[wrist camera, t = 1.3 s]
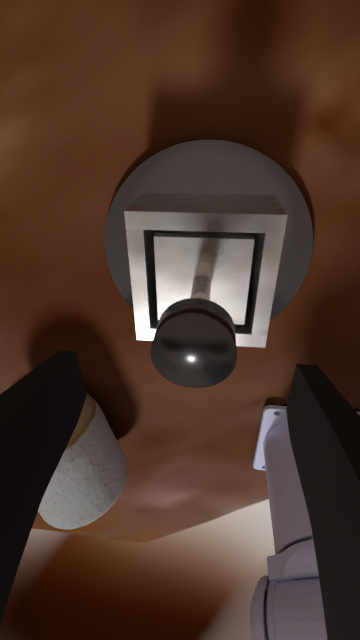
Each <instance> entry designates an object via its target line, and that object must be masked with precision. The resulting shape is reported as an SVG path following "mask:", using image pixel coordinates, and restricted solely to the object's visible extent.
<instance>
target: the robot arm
mask: <svg viewBox="0 0 360 640" xmlns="http://www.w3.org/2000/svg"><path fill="white" fill-rule="evenodd" d="M86 396H87V395H86V391H85V387H84V382H83V378H82V374H81V370H80V366H79V362H78V358H77V354H76V352H73V351H58V352H56V353H55V354H53V355H52V356H51V357H49V358H48V359H47V360H45V361H44V362H43V363H41V364H40V365H39V366H37V367H36V368H35V369H34V370H32V371H31V372H30V373H28V374H27V375H26V376H24V377H23V378H22V379H20V380H19V381H18V382H16V383H15V384H14V385H12V386H11V387H10V388H8V389H7V390H6V391H4V392H3V393H2V394H0V625H1V622H2V618H3V615H4V611H5V607H6V605H7V601H8V598H9V595H10V592H11V588H12V585H13V582H14V579H15V575H16V573H17V569H18V566H19V563H20V560H21V557H22V554H23V551H24V548H25V546H26V543H27V540H28V537H29V533H30V531H31V528H32V526H33V523H34V520H35V517H36V515H37V512H38V509H39V506H40V504H41V501H42V498H43V496H44V494H45V492H46V489H47V487H48V485H49V483H50V480H51V478H52V476H53V474H54V472H55V470H56V468H57V466H58V464H59V462H60V459H61V457H62V455H63V453H64V451H65V449H66V447H67V445H68V443H69V441H70V438H71V436H72V434H73V432H74V430H75V428H76V425H77V423H78V420H79V418H80V415H81V412H82V409H83V405H84V402H85V399H86ZM275 411H278V412H275ZM253 467H254V468H255V469H257V470H266V477H267V486H268V494H269V502H270V511H271V519H272V528H273V536H274V545H275V553H276V555H274V556H269V557H267V565H268V575H269V576H263V577H261V578H260V580H259V581H258V583H257V586H256V589H255V592H254V594H253V597H252V601H251V608H250V638H251V640H360V412H356V411H355V410H354V408H353V407H352V406H351V405H350V404H349V403H348V402H347V400H346V399H345V398H344V397H343V396H342V395H341V393H340V392H339V391H338V390H337V389H336V387H335V386H334V385H333V384H332V383H331V381H330V380H329V379H328V378H327V377H326V375H325V374H324V373H323V372H322V371H321V370H320V368H319V367H318V366H317V365H301V364H297V365H296V370H295V374H294V378H293V382H292V387H291V391H290V395H289V399H288V404H287V406H276V405H267V406H265V407H264V409H263V414H262V419H261V424H260V429H259V435H258V440H257V445H256V450H255V455H254V460H253Z"/></svg>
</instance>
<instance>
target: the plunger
mask: <svg viewBox="0 0 360 640" xmlns="http://www.w3.org/2000/svg"><path fill="white" fill-rule="evenodd" d="M254 240H255V239H254V235H228V234H193V233H158V232H156V233H155V235H154V253H155V272H156V292H157V311H158V320H159V322H158V325H157V329H156V332H155V335H154V339H153V342H152V345H151V359H152V362H153V364H154V366H155V368H156V369H157V371H158V372H159V373H160V374H161V375H162V376H163V377H165V378H166V379H167V380H169V381H171V382H173V383H175V384H177V385H180V386H184V387H190V388H204V387H209V386H213V385H215V384H218V383H219V382H221V381H223V380H224V379H226V378H227V377H228V376H229V375H230V374H231V372H232V371H233V369H234V367H235V364H236V360H237V351H236V333H235V325H234V324H242V325H244V323H245V314H246V306H247V298H248V290H249V281H250V273H251V265H252V257H253V248H254Z"/></svg>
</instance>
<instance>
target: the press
mask: <svg viewBox="0 0 360 640" xmlns="http://www.w3.org/2000/svg"><path fill="white" fill-rule="evenodd" d="M156 232H158V233H193V234H228V235H254V239H255V240H254V248H253V257H252V265H251V273H250V281H249V290H248V298H247V306H246V314H245V323H244V325H242V324H234V325H235V333H236V346H247V347H263V348H265V345H266V339H267V333H268V327H269V321H270V320H271V319H272V318H274V317H275V316H276V315H278V314H279V313H280V312H281V311H282V310H283V309H284V308H285V307H286V306H287V305H288V304H289V303H290V301H291V300H292V299H293V298H294V296H295V295H296V294H297V292H298V290H299V289H300V287H301V285H302V283H303V281H304V279H305V277H306V275H307V272H308V269H309V265H310V262H311V257H312V251H313V228H312V221H311V216H310V213H309V210H308V206H307V204H306V202H305V199H304V197H303V195H302V193H301V191H300V190H299V188H298V187H297V185H296V184H295V182H294V181H293V179H292V178H291V177H290V176H289V175H288V174H287V173H286V172H285V170H284V169H283V168H282V167H281V166H279V165H278V164H277V163H276V162H274V161H273V160H272V159H271V158H270V157H268V156H266V155H265V154H263V153H261V152H259V151H258V150H256V149H253V148H251V147H248V146H246V145H243V144H241V143H236V142H232V141H228V140H218V139H201V140H192V141H187V142H183V143H178V144H176V145H173V146H171V147H168V148H165V149H163V150H162V151H160V152H158V153H156V154H154V155H153V156H151V157H149V158H148V159H147V160H146V161H144V162H143V163H142V164H140V165H139V166H138V167H137V168H136V169H135V170H134V171H133V172H132V173H131V174H130V175H129V176H128V177H127V178H126V180H125V181H124V183H123V184H122V185H121V187H120V188H119V190H118V192H117V194H116V195H115V197H114V199H113V201H112V204H111V207H110V210H109V212H108V216H107V221H106V226H105V238H104V242H105V254H106V259H107V264H108V267H109V270H110V273H111V276H112V278H113V280H114V282H115V285H116V287H117V288H118V290H119V291H120V293H121V295H122V296H123V298H124V299H125V300H126V301H127V302H128V304H129V305H130V306H131V307H132V308H133V309H134V317H135V328H136V338H137V340H148V341H153V339H154V335H155V332H156V329H157V325H158V322H159V320H158V311H157V292H156V272H155V253H154V235H155V233H156Z"/></svg>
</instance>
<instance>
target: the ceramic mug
mask: <svg viewBox="0 0 360 640" xmlns="http://www.w3.org/2000/svg"><path fill="white" fill-rule="evenodd" d="M86 395H87V396H86V399H85V402H84V405H83V409H82V412H81V415H80V418H79V420H78V423H77V425H76V428H75V430H74V432H73V434H72V436H71V438H70V441H69V443H68V445H67V447H66V449H65V451H64V453H63V455H62V457H61V459H60V462H59V464H58V466H57V468H56V470H55V472H54V474H53V476H52V478H51V480H50V483H49V485H48V487H47V489H46V492H45V494H44V496H43V498H42V501H41V504H40V506H39V509H38V511H39V513H40V515H41V516H42V517H43V519H44V520H45V521H46V522H47V523H48V524H50V525H51V526H53V527H55V528H59V529H74V528H79V527H82V526H85V525H87V524H89V523H91V522H93V521H95V520H96V519H98V518H99V517H100V516H102V515H103V514H104V513H105V512H106V511H107V510H108V509H109V508H110V507H111V506H112V505H113V504H114V503H115V501H116V500H117V499H118V497H119V496H120V494H121V492H122V490H123V488H124V484H125V482H126V477H127V461H126V458H125V455H124V453H123V452H122V450H121V448H120V446H119V444H118V442H117V439H116V438H115V436H114V434H113V432H112V430H111V428H110V426H109V424H108V422H107V420H106V417H105V415H104V413H103V411H102V410H101V408H100V406H99V405H98V403H97V402H96V401H95V400H94V399H93V398H92V397H91V396H90V395H89V394H88V393H86Z"/></svg>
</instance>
